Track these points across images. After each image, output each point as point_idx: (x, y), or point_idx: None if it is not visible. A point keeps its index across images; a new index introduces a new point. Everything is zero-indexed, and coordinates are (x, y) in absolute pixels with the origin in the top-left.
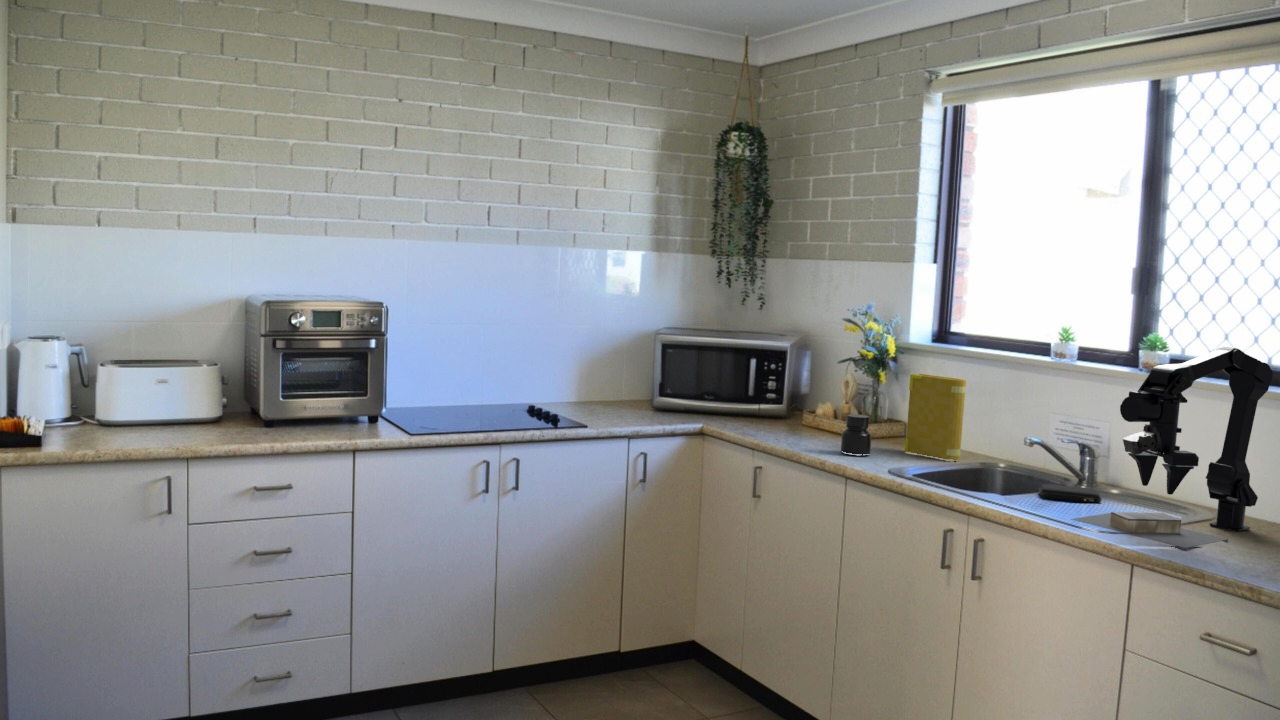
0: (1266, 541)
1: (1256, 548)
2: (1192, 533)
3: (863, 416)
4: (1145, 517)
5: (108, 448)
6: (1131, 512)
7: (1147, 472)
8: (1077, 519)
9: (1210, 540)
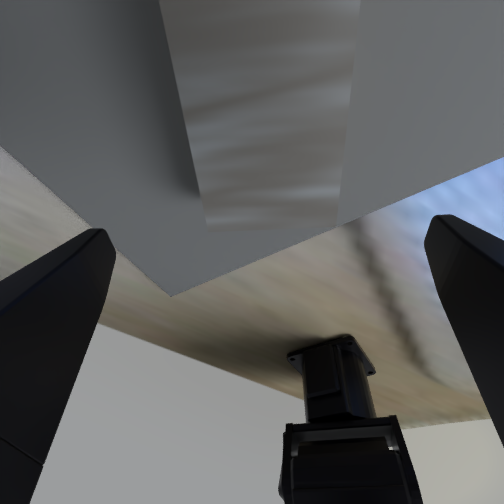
0: (208, 361)
1: (122, 315)
2: (218, 239)
3: None
4: (218, 61)
5: None
6: (353, 37)
7: (491, 334)
8: None
9: (129, 243)
